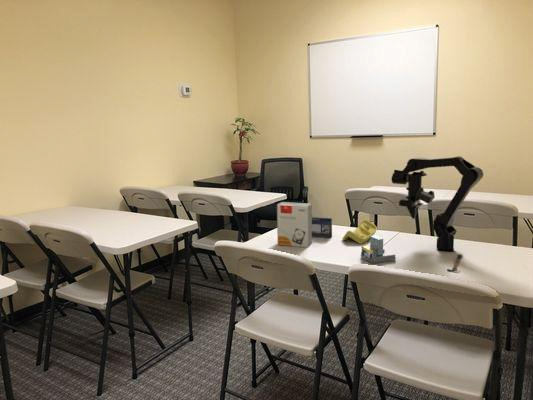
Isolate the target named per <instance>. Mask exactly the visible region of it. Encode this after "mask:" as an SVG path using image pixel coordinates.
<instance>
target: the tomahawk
mask: <svg viewBox="0 0 533 400" xmlns="http://www.w3.org/2000/svg"><path fill="white" fill-rule="evenodd" d="M463 257H464V256H463V255H462V254H460V253H458V254H457V257H456V259H455V262H454V265H453V267H452V269H450V268H447V270H446V271H447V272H448V273H449V272H450V273H456V274H460V273H461V270H460V271H459V270H458V269H457V268H458V266H459V264H460V262H461V260H462V258H463Z"/></svg>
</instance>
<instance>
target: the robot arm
mask: <svg viewBox="0 0 533 400" xmlns="http://www.w3.org/2000/svg"><path fill="white" fill-rule="evenodd" d="M445 167H454V168H455V169H456V170H457V172H458V173H459V174H460V175H461V176H462V177H461V180H460V185H459V187H458V188H457V191H456V192H455V194H454V195H453V196H452V199H451V200H450V202H449V204H448V206H446V209H445V211H444V212H440V213H438V214H437V215H436V216H435V217H434V218H435V219H434V220H433V221H432V223H433V224H432V229H433V231H434V232H435V234H436V237H437V238H436V249H437V251H438V252H439V251H441V252H452V253H453V252H454V251H455V250H454V249H455V248H454V242H455V236H456V233H457V229H456V228H455V227H454V226H453V224H454V219H455V215H456V214H457V212H458V210H459V209H460V207H461V206H462V204H463V203H464V201H465V200H466V198H467V196H468V194H469V193H470V191H472V189H473V188H474V187H475V186H476V185H477V184H478V183H479V182H480V181H481V180H482V178H483V177H484V171H483V169H481V167H477V166H475V165H474V164H473V163H471V162H469V161H468V160H466V159H465V158H464V157H462V156H455V157H443V158H442V157H441V158H426V157H424V158H423V157H415V158H414V157H413V158H410V159H408V160H407V163H406V166H405V167H404V168H403V169H397V168H396V169H394V170H393V173H392V175H391V183H392V184H394V185H405V186H406V185H408V186H407V187H405V188H406V190H407V196H405V198H402V199H400V200H399V201H398V206H400V207H406V209H407V211H408V212H409V215H410V217H411V219H413V220H414V219H416V217H417V215H418V211H419V209H420V207H421V206H423V205H424V203H425V204H430V203H432V202H433V200H434V199H435V198H436V197H435V191H433V190H429V191H425V190H424V189H425V188H424V187H422V184H423V183H422V181H423V180H422V179H423V177H425V176H427V173H426V172H424V170H425V169H428V168H445ZM422 201H423V202H424V203H423V202H422Z"/></svg>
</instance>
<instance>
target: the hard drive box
mask: <svg viewBox="0 0 533 400" xmlns="http://www.w3.org/2000/svg"><path fill="white" fill-rule="evenodd" d="M312 205H313V204H312V203H304V202H291V201H290V202H289V201H287V202H286V201H281V202H279V203H277V204H276V224H277V225H276V229H277V231H276V232H277V234H276V235H277V245H280V246H290V247H299V248H309V247H310V246H311V245H312V244H313V241H312V239H313V237H312V217H313V216H312V214H313V213H312V212H313V211H312Z"/></svg>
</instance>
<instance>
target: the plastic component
mask: <svg viewBox="0 0 533 400" xmlns="http://www.w3.org/2000/svg"><path fill="white" fill-rule="evenodd" d="M377 231H378V227H377V226H376V225H375V224H374V223H373V222H371V221H370V220H368V219H364V220H363V221H362V222H361V223H360V225H359V226H358V227H357V228H355V229H354V230H353V231H351V230H348V231H346V233H345V234H344V236H343V237H342V241H346V240H348V239H352V240H353V241H355V242H357V243H358V244H362V245H363V244H365V243H366V242H368V240H370V236H373V235H375V234H376V233H377Z"/></svg>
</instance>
